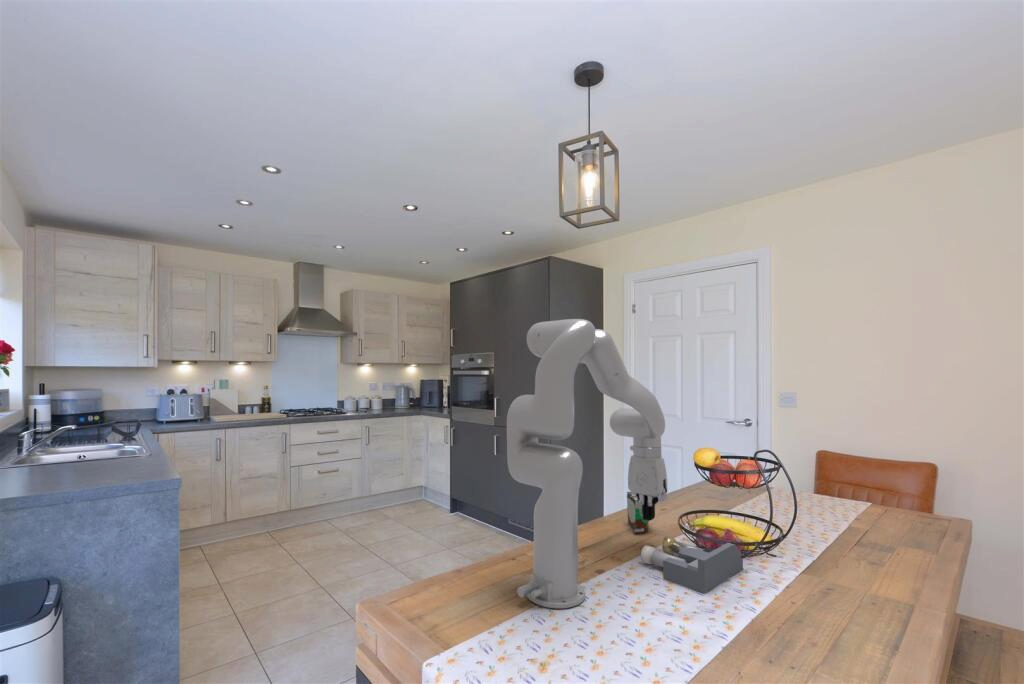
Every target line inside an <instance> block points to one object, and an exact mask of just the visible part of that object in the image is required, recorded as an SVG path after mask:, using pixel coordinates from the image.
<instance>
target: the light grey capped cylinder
mask: <svg viewBox="0 0 1024 684" xmlns="http://www.w3.org/2000/svg"><path fill="white" fill-rule="evenodd" d="M669 557H670V558H673V559H676V560H679V561H682V562H686V560H685V559H681V558H679V556H676V555H675V556H674V555H672V554H669V553H665V552H663V551H659V550H657V549H656V547H653V546H650V545H644V546H642V549H641V553H640V558H641V561H642V562H643V563H646V564H648V565H653V564H654V565H658V566H660V567H663V560H665V559H667V558H669Z"/></svg>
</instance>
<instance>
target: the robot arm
mask: <svg viewBox="0 0 1024 684" xmlns="http://www.w3.org/2000/svg"><path fill="white" fill-rule="evenodd" d="M526 344H527V347H528V349H529V351H530V352H531V353H532V354H533V355H534V356H536V357H538V358H540V360H539V362H538V364H537V367H536V370H535V371H536V372H535V380H534V394H523V395H519V396H518V397H516V398H514V400H513V401H512V403H511V404H510V405H509V408H508V412H507V416H506V454H507V457H506V458H507V469H508V472H509V474H510V475H511V477H512V479H513V480H515V481H516V482H518V483H520V484H524V485H527V486H532V487H536V488H539V489H541V490H542V491H541V494H540V495H539V497H538V499H537V501H536V502H535V504H534V509H533V573H532V574H530V575H529V581H528V582H527V584H524V585H521V586H519V587H517V590H516V593H517V595H518V597H520V598H523V597H527V599H529V601H530V602H532V603H533V604H536V605H538V606H541V607H544V608H547V609H569V608H573V607H575V606H576V607H577V606H578V605H580V604H581V603H582V602H584V600H585V598H586V591H585V588H584V586H582V585H581V584H580V583H579V580H578V579H579V574H578V571H579V568H578V567H579V563H578V562H579V561H578V560H579V553H578V552H579V549H578V548H579V539H578V538H579V520H578V519H579V514H578V512H579V494H580V487H581V484H582V478H583V471H584V470H583V469H584V467H583V461H582V459H581V457H580V455H579V454H578V453H577V452H576V451H575V450H573V449H572V448H569V447H566V446H563V445H562V446H561V445H556V444H549V443H541V442H539V439H545V440H557V441H561V440H565V439H568V438H569V437H570V436H571V435H572V434H573V431H574V427H575V387H574V386H575V384H574V383H575V374H576V370H577V369H578V366H579V364H584V365H586V367H587V369H588V371H589V373H590V375H591V378H592V379H593V380H594V381H593V382H594V384H595V385H596V388H597V389H598V391H600V393H602V394H603V395H605V396H608V397H609V398H612V399H613V400H616V401H619V402H621V403H623V404H625V405H628V406H629V407H631V408H628V407H627V408H625V407H621V408H618V409H616V410H614V411H613V412H612V414H611V415H610V418H609V426H610V429H611V430H612V432H613V433H615V434H616V435H618V436H621V437H629V438H632V444H633V445H630V447H629V450H630V451H632V454H633V455H630V458H629V464H628V472H627V473H628V474H627V488H628V490H629V492H631V494H633V495H635V496H637V497H638V499H639V500H640V503H641V504H642V514H643V520H647V521H649V522H651V521H652V520H654V519H655V516H656V505H657V504H658V502H664V501H667V500H668V497H667V493H668V474H667V468H666V462H665V460H664V457H663V456H662V436H663V435H664V433H665V429H666V420H665V417H664V413H663V411H662V408H661V405H660V403H659V401H658V399H657V397H656V396H655V394H653V392H651V390H650V389H648V388H647V387H646V386H645V385H643V384H642V383H641V382H639V381H638V380H637V379H635V378H634V377H632V376H631V375H630V374H629V373H628V371H627V369H626V366H625V363H624V362H623V359H622V357H621V355H620V352H619V350H618V348H617V346H616V343H615V341H614V339H613V337H612V336H611V334H610V332H608V331H606V330H604V329H598V328H596V327H595V325H594V324H593V322H591V321H590V320H588V319H582V318H571V319H570V318H568V319H558V320H549V321H547V320H546V321H541V322H537V323H535V324H532V326H531V327H530V328H529V330H528V331H527V333H526Z"/></svg>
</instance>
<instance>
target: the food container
mask: <svg viewBox="0 0 1024 684" xmlns="http://www.w3.org/2000/svg"><path fill="white" fill-rule="evenodd" d="M626 503H627V505H626V506H627V507H626V508H627V511H626V512H627V525H628V527H629V528H630V530H631V531H632V533H633V534H634V535H635V536H636V535H643V534H644V535H645V534H647V533H648V532H649V522H650V521H647V520H643V514H642V504H641V503H640V500H639V499H638V497H637V496H635V495H633V494H631V491H626Z"/></svg>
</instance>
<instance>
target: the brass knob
mask: <svg viewBox="0 0 1024 684" xmlns="http://www.w3.org/2000/svg"><path fill="white" fill-rule="evenodd" d="M661 544H662V545H661V549H662V552H663V553H665V554H669V555H672V556H674V554H676V555H679V552H681V551H683V550H685V549H687V548H689V547H691V548H694V549H698V550H701V551H705V549H701V548H698V546H694V545H691V544H688V543H687V544H686V543H684V542H680V541H677V540H676V538H674V537H670V536H664V538H663V540H662V543H661ZM705 552H706V551H705Z"/></svg>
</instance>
